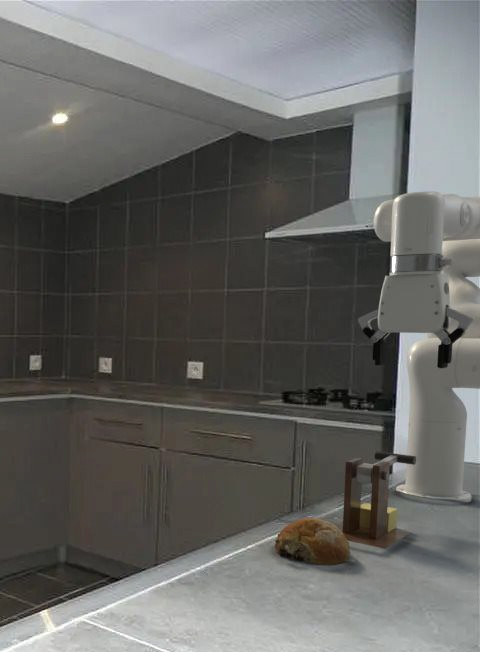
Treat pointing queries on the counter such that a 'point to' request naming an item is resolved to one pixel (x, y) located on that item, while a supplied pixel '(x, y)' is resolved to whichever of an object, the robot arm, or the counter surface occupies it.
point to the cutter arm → (367, 469)
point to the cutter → (378, 507)
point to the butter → (366, 511)
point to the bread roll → (313, 542)
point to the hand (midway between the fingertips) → (410, 366)
